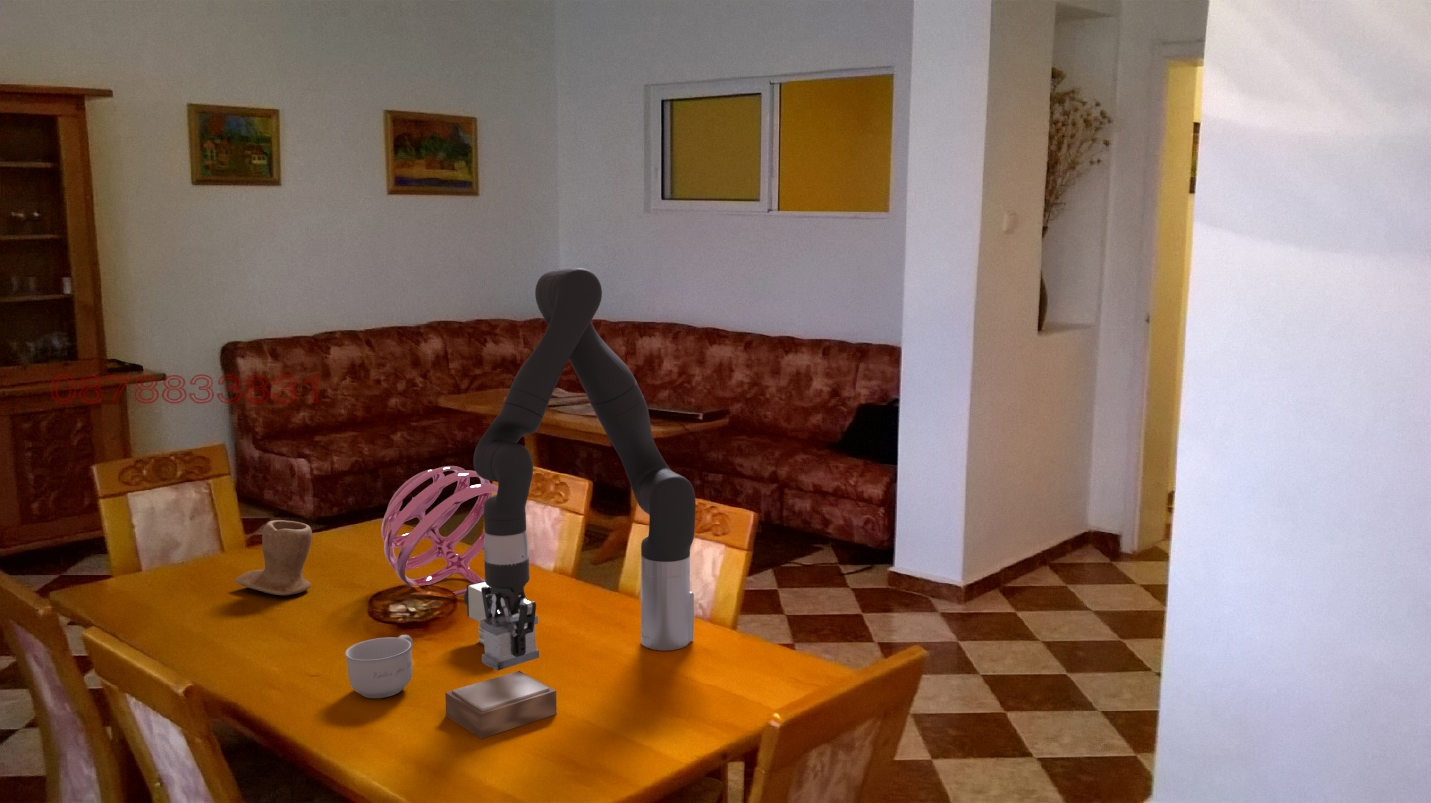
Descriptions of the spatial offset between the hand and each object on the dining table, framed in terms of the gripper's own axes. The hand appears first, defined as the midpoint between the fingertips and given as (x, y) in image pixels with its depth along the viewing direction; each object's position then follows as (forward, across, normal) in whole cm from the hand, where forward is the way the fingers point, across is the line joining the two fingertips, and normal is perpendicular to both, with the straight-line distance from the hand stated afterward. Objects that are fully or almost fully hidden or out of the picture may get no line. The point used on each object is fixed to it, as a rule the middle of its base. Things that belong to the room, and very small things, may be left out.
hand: (510, 650), depth 203 cm
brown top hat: (+5, +76, +10) cm, 76 cm away
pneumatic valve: (+6, +18, -8) cm, 21 cm away
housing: (+2, 0, 0) cm, 2 cm away
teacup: (+6, +12, +17) cm, 22 cm away
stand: (+6, -10, +9) cm, 15 cm away
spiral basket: (+6, +54, -18) cm, 58 cm away
